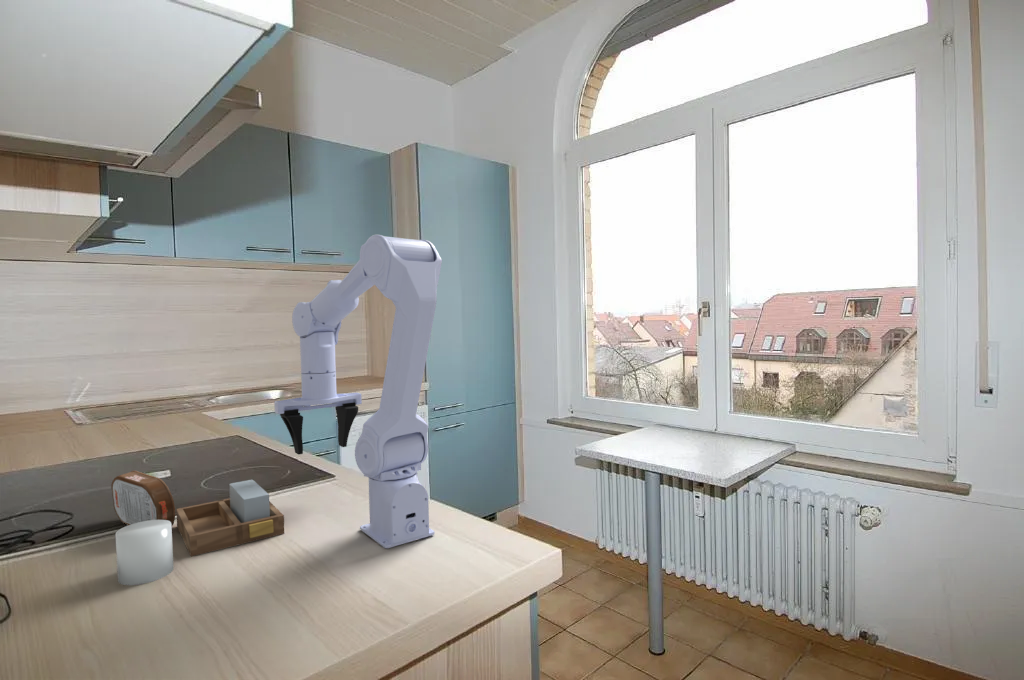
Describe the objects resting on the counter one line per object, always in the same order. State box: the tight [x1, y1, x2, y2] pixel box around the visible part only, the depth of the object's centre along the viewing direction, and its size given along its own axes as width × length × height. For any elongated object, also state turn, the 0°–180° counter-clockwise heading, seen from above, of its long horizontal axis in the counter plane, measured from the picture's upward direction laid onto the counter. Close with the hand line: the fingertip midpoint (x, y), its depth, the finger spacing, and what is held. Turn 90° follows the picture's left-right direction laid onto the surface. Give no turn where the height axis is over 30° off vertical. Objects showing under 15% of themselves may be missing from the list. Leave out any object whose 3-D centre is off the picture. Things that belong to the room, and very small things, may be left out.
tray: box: [175, 497, 285, 557], centre depth 86 cm, size 15×12×3 cm
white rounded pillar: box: [115, 520, 175, 586], centre depth 72 cm, size 6×6×6 cm
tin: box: [110, 470, 176, 527], centre depth 87 cm, size 15×3×8 cm, turn 58°
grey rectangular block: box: [228, 479, 270, 523], centre depth 88 cm, size 10×4×5 cm, turn 38°
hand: (321, 449), depth 97 cm, fingers open, 7 cm apart
